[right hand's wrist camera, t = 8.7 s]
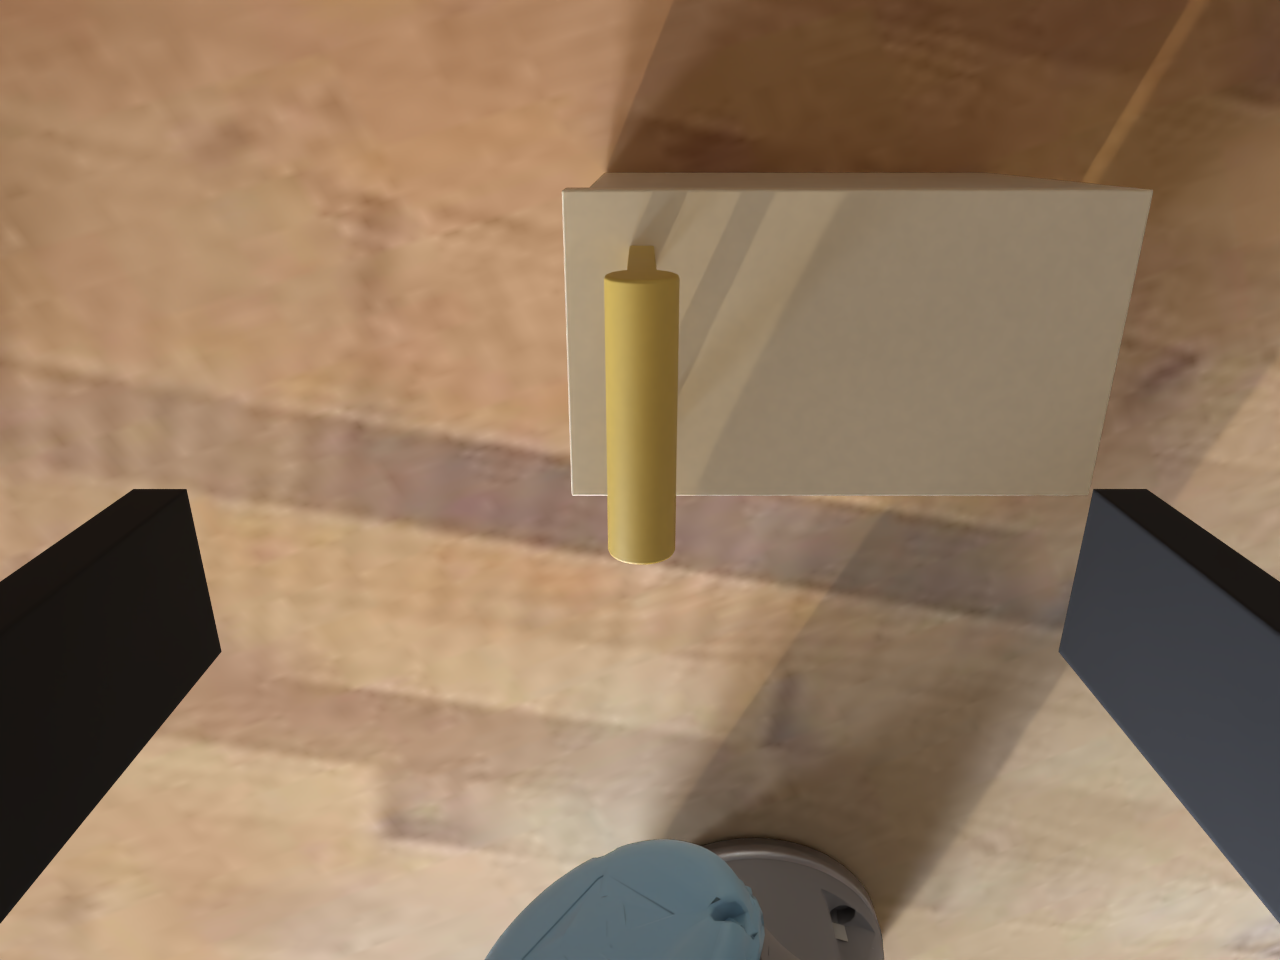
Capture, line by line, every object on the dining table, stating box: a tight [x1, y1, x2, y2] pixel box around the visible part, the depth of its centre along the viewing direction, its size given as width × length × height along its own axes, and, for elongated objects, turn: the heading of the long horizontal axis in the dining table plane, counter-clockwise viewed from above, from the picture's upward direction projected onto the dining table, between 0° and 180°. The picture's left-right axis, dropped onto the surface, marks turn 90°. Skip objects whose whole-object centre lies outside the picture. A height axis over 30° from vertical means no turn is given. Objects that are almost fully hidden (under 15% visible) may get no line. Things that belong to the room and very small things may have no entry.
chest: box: [590, 173, 1129, 188], centre depth 31 cm, size 16×9×11 cm, turn 90°
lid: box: [562, 188, 1153, 565], centre depth 22 cm, size 16×9×8 cm, turn 90°
